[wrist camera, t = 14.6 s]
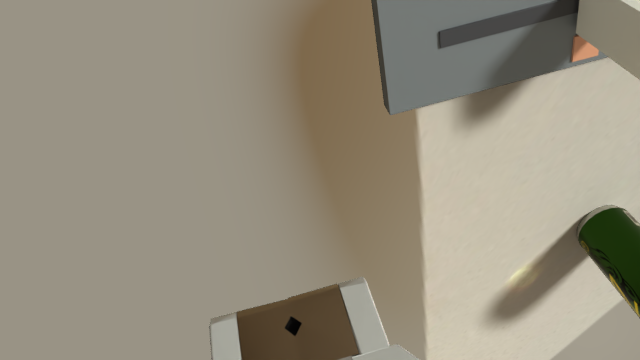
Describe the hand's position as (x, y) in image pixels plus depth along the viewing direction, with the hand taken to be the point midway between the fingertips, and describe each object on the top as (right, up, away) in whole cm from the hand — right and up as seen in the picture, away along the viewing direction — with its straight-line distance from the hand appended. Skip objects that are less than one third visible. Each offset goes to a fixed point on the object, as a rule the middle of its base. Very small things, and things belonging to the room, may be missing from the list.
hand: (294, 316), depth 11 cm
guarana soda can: (+28, -2, +46) cm, 54 cm away
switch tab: (+19, +15, +29) cm, 38 cm away
